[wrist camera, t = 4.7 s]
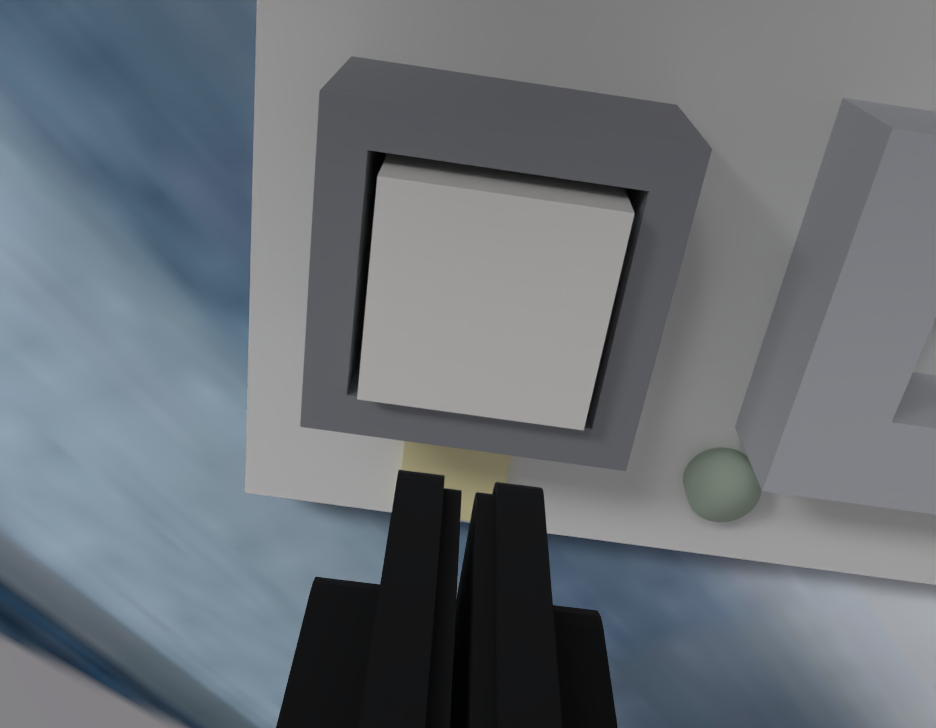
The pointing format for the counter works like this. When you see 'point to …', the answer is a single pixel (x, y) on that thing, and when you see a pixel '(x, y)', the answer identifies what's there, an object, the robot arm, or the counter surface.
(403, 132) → the panel
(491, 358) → the button
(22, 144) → the counter surface
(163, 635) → the counter surface
